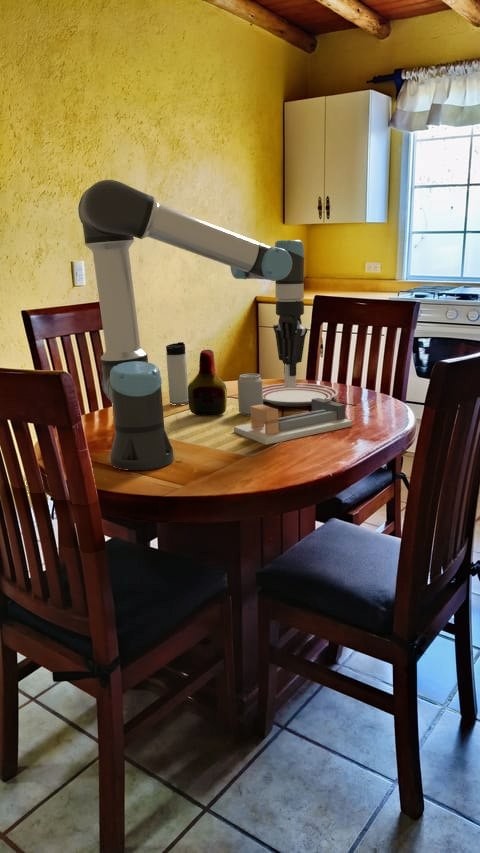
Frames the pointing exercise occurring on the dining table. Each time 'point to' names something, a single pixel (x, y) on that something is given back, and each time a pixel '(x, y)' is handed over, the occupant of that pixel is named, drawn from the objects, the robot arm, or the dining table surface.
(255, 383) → the can
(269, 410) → the tan wooden block
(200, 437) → the dining table surface
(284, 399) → the dinner plate
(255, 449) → the dining table surface
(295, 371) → the robot arm
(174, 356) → the travel mug
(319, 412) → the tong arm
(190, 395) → the bottle
